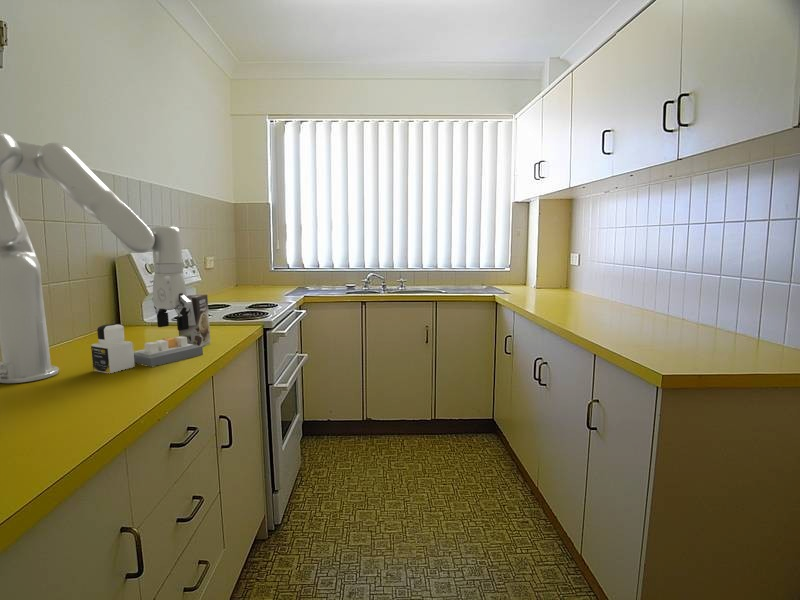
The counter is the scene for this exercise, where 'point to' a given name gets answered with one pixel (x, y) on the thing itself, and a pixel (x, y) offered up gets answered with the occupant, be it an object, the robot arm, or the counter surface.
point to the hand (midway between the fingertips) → (173, 328)
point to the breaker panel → (166, 351)
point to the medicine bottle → (112, 350)
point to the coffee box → (197, 321)
